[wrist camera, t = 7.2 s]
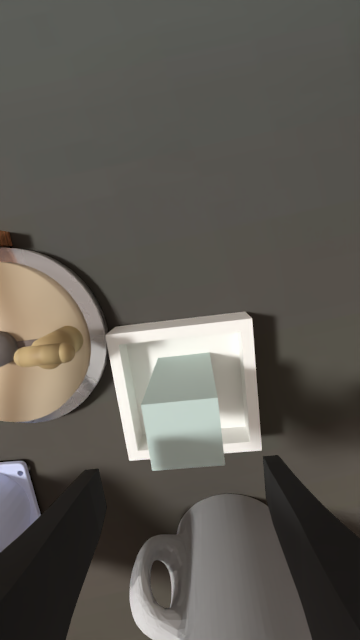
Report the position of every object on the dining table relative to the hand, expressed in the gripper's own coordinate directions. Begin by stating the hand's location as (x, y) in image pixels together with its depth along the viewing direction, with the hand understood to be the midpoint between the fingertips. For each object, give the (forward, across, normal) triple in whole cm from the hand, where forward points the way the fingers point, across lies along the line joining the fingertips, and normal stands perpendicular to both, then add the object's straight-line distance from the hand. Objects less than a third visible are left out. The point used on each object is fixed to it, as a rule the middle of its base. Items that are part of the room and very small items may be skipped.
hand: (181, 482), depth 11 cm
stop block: (+10, 0, 0) cm, 10 cm away
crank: (+9, +12, -5) cm, 16 cm away
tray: (+10, 0, 0) cm, 10 cm away
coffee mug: (+11, -1, +15) cm, 18 cm away
